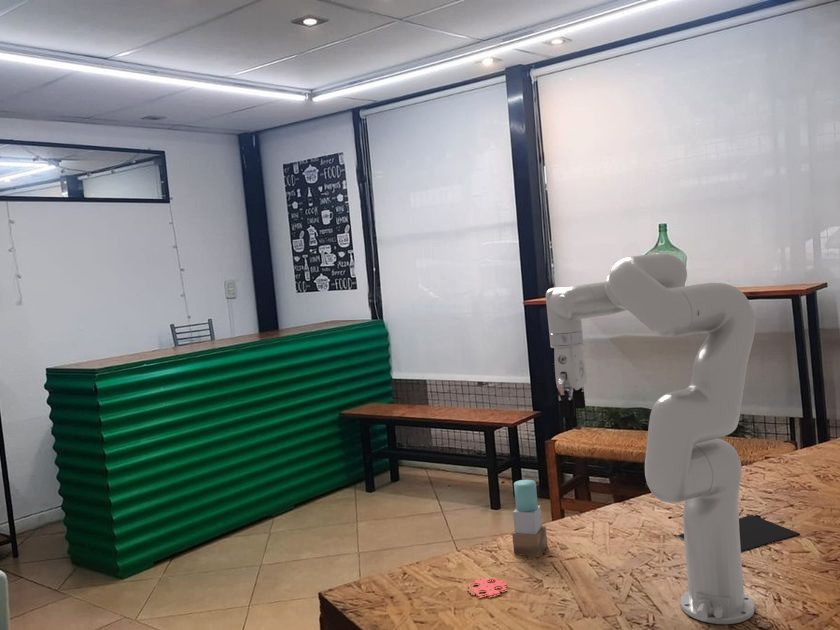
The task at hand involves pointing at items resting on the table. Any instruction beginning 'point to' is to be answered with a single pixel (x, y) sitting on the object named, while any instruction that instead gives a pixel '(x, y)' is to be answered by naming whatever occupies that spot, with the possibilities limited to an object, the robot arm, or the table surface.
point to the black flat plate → (758, 532)
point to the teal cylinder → (525, 495)
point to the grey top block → (527, 521)
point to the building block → (488, 586)
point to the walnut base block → (530, 543)
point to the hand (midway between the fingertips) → (573, 412)
